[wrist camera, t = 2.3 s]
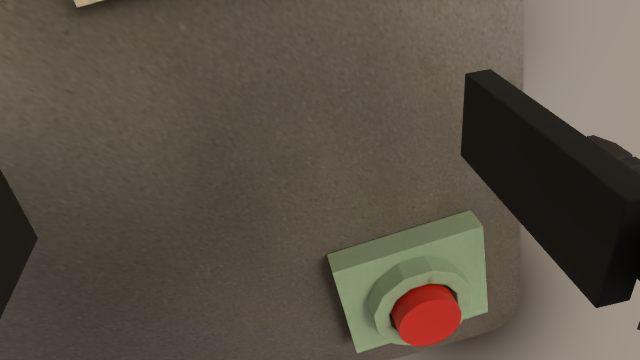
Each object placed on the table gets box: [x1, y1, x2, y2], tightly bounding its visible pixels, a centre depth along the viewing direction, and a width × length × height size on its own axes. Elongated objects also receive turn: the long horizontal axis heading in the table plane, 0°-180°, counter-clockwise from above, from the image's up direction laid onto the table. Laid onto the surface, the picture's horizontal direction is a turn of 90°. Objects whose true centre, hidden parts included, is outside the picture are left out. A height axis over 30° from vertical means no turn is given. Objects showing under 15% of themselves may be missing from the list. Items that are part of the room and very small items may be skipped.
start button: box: [392, 283, 462, 346], centre depth 38 cm, size 5×5×2 cm
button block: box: [327, 210, 488, 353], centre depth 40 cm, size 12×10×4 cm
